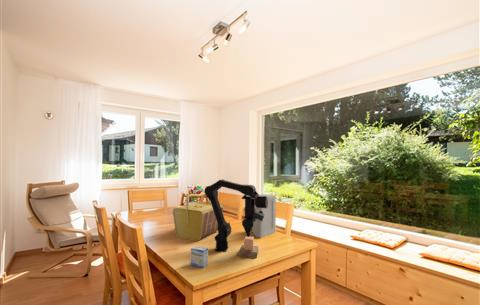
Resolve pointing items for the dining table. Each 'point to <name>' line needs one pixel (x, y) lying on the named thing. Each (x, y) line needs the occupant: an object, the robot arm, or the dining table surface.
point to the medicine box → (199, 256)
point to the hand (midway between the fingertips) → (249, 234)
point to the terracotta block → (248, 243)
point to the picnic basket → (195, 219)
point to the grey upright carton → (266, 218)
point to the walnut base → (248, 252)
